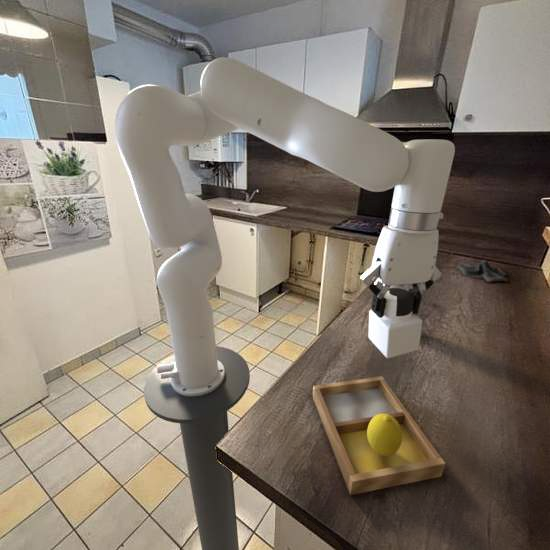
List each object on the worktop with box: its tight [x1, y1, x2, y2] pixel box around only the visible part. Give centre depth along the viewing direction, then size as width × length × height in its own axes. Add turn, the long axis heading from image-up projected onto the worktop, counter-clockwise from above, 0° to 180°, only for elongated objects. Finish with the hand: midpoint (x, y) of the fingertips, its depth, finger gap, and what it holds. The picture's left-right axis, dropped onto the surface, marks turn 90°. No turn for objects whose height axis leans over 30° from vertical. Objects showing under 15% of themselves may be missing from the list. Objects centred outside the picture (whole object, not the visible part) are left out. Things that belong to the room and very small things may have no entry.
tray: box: [312, 376, 446, 496], centre depth 55 cm, size 16×20×3 cm
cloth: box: [458, 259, 509, 283], centre depth 128 cm, size 22×19×6 cm
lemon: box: [367, 414, 402, 456], centre depth 50 cm, size 6×6×8 cm
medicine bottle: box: [367, 288, 423, 359], centre depth 57 cm, size 7×7×12 cm
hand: (394, 311), depth 56 cm, fingers closed on medicine bottle, 6 cm apart
